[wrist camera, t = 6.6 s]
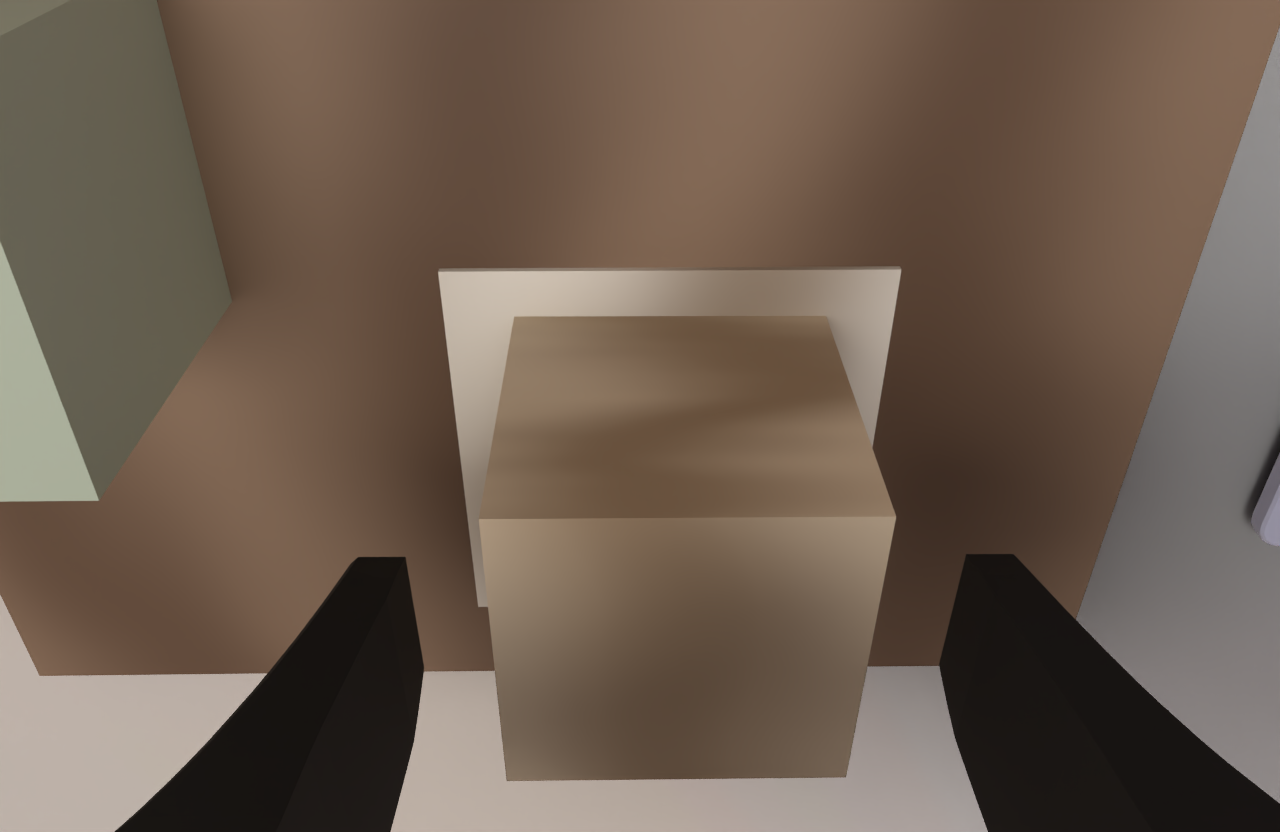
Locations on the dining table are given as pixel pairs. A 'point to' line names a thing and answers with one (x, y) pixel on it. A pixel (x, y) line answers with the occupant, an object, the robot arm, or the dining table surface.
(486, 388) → the board
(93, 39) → the sage block
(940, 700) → the dining table surface
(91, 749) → the dining table surface
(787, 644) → the beech block
